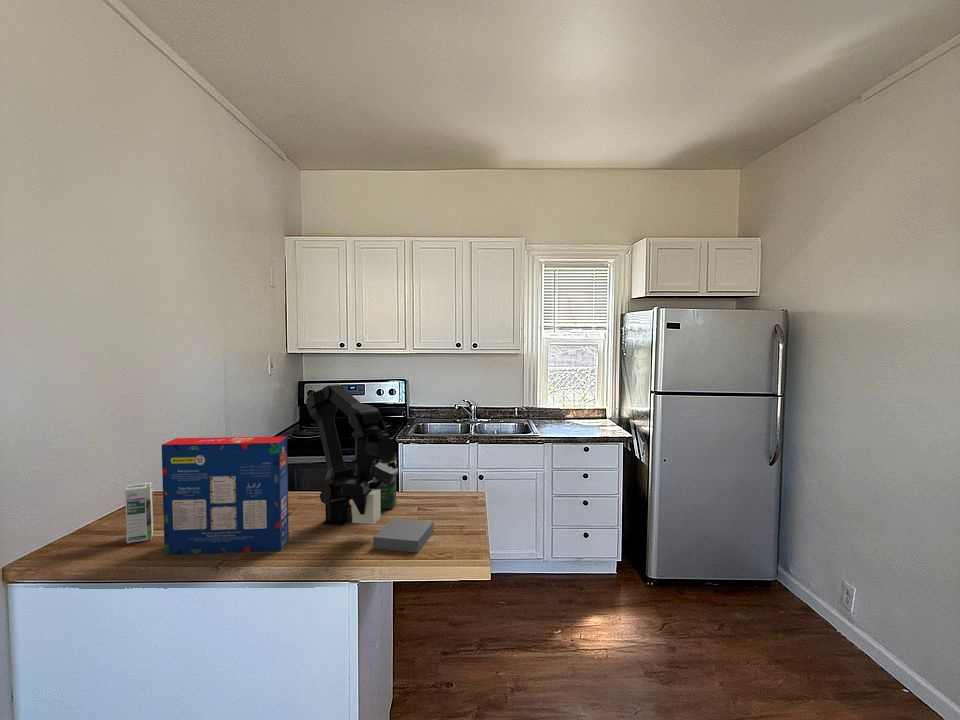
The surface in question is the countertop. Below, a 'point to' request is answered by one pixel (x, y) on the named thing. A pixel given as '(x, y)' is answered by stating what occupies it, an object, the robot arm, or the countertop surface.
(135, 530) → the syrup box
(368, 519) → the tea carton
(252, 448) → the blue cardboard box
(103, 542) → the countertop surface
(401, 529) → the podium
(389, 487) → the coffee jar
